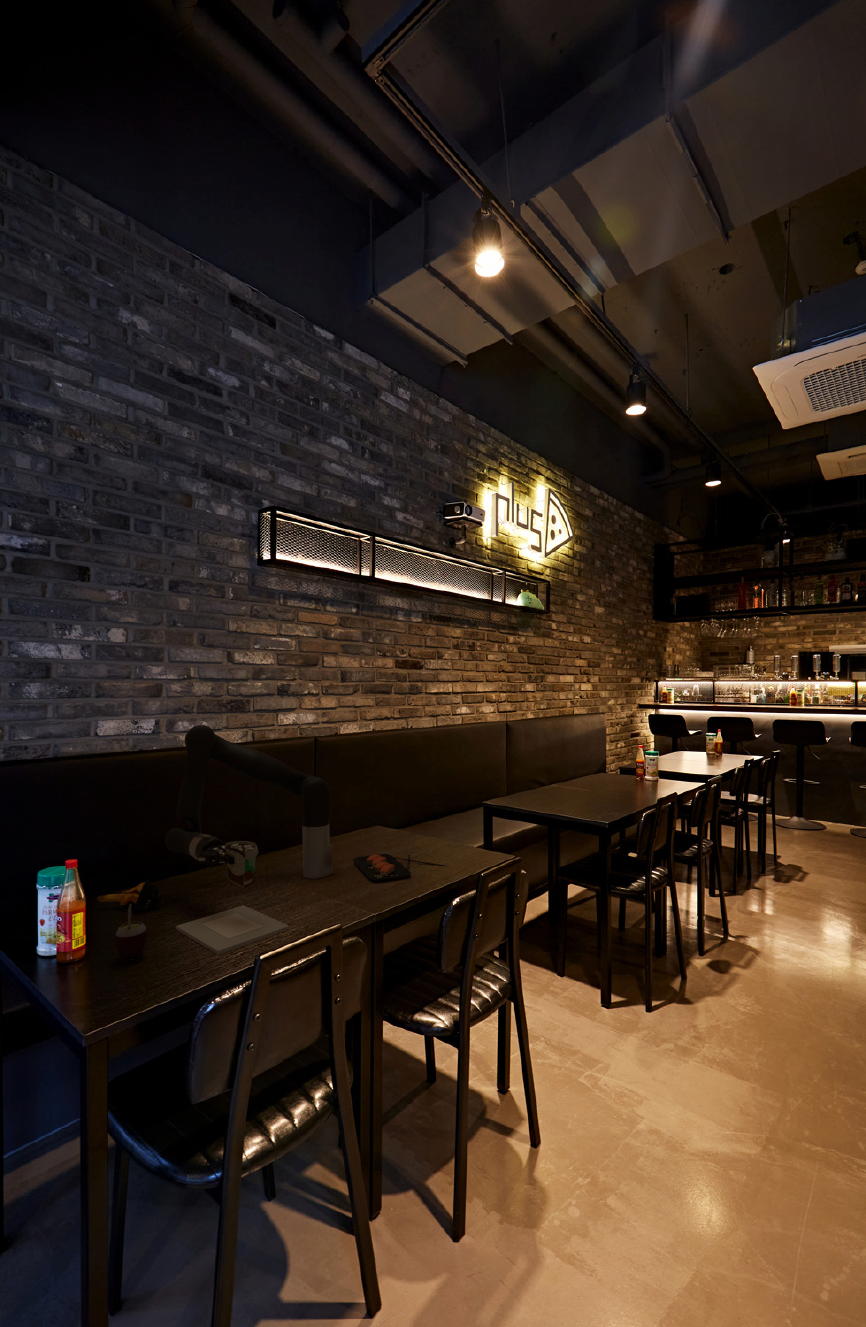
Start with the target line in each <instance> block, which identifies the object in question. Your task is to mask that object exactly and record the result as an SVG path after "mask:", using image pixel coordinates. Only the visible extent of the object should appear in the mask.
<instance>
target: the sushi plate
mask: <svg viewBox="0 0 866 1327" xmlns="http://www.w3.org/2000/svg"><path fill="white" fill-rule="evenodd" d="M399 860H402V861H406V862H407V865H406V866H404V865H403V863H401V862H400V861H399ZM352 861H353V863H354V864H355V865H356V866H357V867H358V868H359V869H360V871H362V872H363V874H364V875H365V876H366V877H367V878H368V879H369V880H370V881H386V880H387V881H389V880H394V879H395V880H396V879H399V878H405V877H409V876H411V875H412V874H411V873H412V872H411V871H410V869H409V865H410V862H412V863H413V862H414V863H417V864H424V865H429V866H436V865H437V866H438V867H446V865H444V864H439V863H433V862H432V863H431V862H425V861H421V860H420V861H419V860H414V859H411V854H409V855H408V858H401V857H394V856H392V854H389V853H380V854H379V853H378V854H370V855H362V856H357V857H353V860H352ZM368 867H373V869H371V868H368ZM374 875H381V876H383V877H381V878H380V877H379V878H377V876H376V877H375V876H374ZM387 875H388V876H387ZM390 875H393V876H390ZM396 875H398V876H396Z"/></svg>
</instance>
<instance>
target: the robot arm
mask: <svg viewBox="0 0 866 1327" xmlns="http://www.w3.org/2000/svg"><path fill="white" fill-rule="evenodd" d="M186 732H187V733H186V734H185V736H184V745H185V747H186V764H185V769H184V770H185V772H184V776H183V778H182V783H181V787H180V790H179V795H178V801H177V807H176V814H175V815H176V818H177V819H178V820H182V821H185V822H187V824H188V827H174V828H172V829H170V830H169V831H168V832H167V833H166V835H165V839H164V841H165V846H166V848H167V849H168V850H169V851H171V852H173V853H177V854H178V853H179V854H185V855H188V856H190V857H193V859H195V860H197V861H198V864H201V865H202V864H203V865H209V866H211V865H212V866H213V865H219V864H221V863H222V864H227V863H228V864H230V865H233V864H234V856H232V855H229V854H226V850H225V843H226V842H224V840H222V839H221V838H218V837H215V836H213V835H210V834H204V833H202V832H203V831H202V826H201V810H202V803H203V796H204V786H205V779H206V775H207V774H206V773H207V768H208V764H209V760H210V759H212V760H215V761H217V762H220V763H222V764H223V765H225V766H227V767H229V768H230V769H232V770H234V771H235V772H238V773H240V774H241V775H243V776H246V777H248V778H250V779H253V780H255V781H257V782H259V783H262V784H265V785H269V786H272V787H277V788H282V789H285V790H287V791H288V792H291V793H293V794H294V795H296V796H298V797H299V798H301V799H302V805H303V807H302V808H303V809H302V810H303V813H302V814H303V815H302V819H301V824H302V825H301V828H302V829H301V830H302V831H301V832H302V868H303V869H302V873H303V875H302V876H303V878H305V879H321V878H322V879H323V878H326V877H328V876H330V875H331V874H333V873H334V870H333V869H334V868H333V864H334V863H333V845H332V844H331V843H330V842H331V839H330V818H331V789H330V786H329V784H328V783H327V782H326V781H325V780H323V779H322V778H320V777H318V776H316V775H315V776H314V775H311V774H308V773H305V772H303V771H298V770H296V769H294V768H293V767H290V766H289V765H288V764H286V763H284V762H283V761H281V760H279V759H277V758H275V757H273V756H272V755H269V754H268V753H264V752H262V751H260V750H259V749H255V748H252V747H249V746H246V745H241V744H237V743H235V742H232V741H229V740H227V739H225V738H224V737H221V736H220V735H218V734H216V733H215V732H214V730H213V729H212V728H211V727H210V726H209V725H206V724H199V725H198V724H197V725H195V726H193V727H191V728H190V729H188V731H186Z"/></svg>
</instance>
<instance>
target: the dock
mask: <svg viewBox="0 0 866 1327" xmlns="http://www.w3.org/2000/svg"><path fill="white" fill-rule="evenodd" d="M175 928H176V929H177V930H176V931H177V932H179V933H181V934H182V935H185V936H186V937H187V938H188V939H191V940H193V941H194V942H196V943H198V944H199V945H201V946H203V947H204V948H205V949H207V950H209V951H211V953H214V954H215V955H217V956H219V955H222V954H225V953H227V952H231V951H233V950H235V949H239V948H241V947H245V946H247V945H250V944H253V943H256V942H258V941H261V940H264V939H267V938H270V937H273V936H275V935H278V934H282V933H283V932H284V933H285V932H287V931H289V929H290V926H289V925H288V924H286V923H283V922H282V921H279V920H277V919H275V918H272V917H271V916H268V915H266V914H263V913H261V912H259V911H258V910H255V909H252V908H250V907H249V906H246V905H243V904H242V905H241V906H240V905H239V906H236V907H234V908H231V909H227V910H224V911H221V912H218V913H214V914H210V915H207V916H203V917H201V918H198V919H195V920H191V921H188V922H185V923H181V924H177V925H175Z"/></svg>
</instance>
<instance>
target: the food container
mask: <svg viewBox="0 0 866 1327" xmlns="http://www.w3.org/2000/svg"><path fill="white" fill-rule="evenodd" d="M224 843H225V850H226V854H229V855H232V856H234V864H233V865H230V864H228V863H226V876H227V880H228V881H230V882H232V883H233V884H236V885H238V886H239V887H241V888H243V889H246V888H248V887H250V886H252V885H253V884H255V873H256V872H255V871H256V859H257V857H256V856H258V855H259V848H258V846H257V843H256V842H252V841H247V840H243V841H242V840H238V841H237V840H236V841H229V842H224Z"/></svg>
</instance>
